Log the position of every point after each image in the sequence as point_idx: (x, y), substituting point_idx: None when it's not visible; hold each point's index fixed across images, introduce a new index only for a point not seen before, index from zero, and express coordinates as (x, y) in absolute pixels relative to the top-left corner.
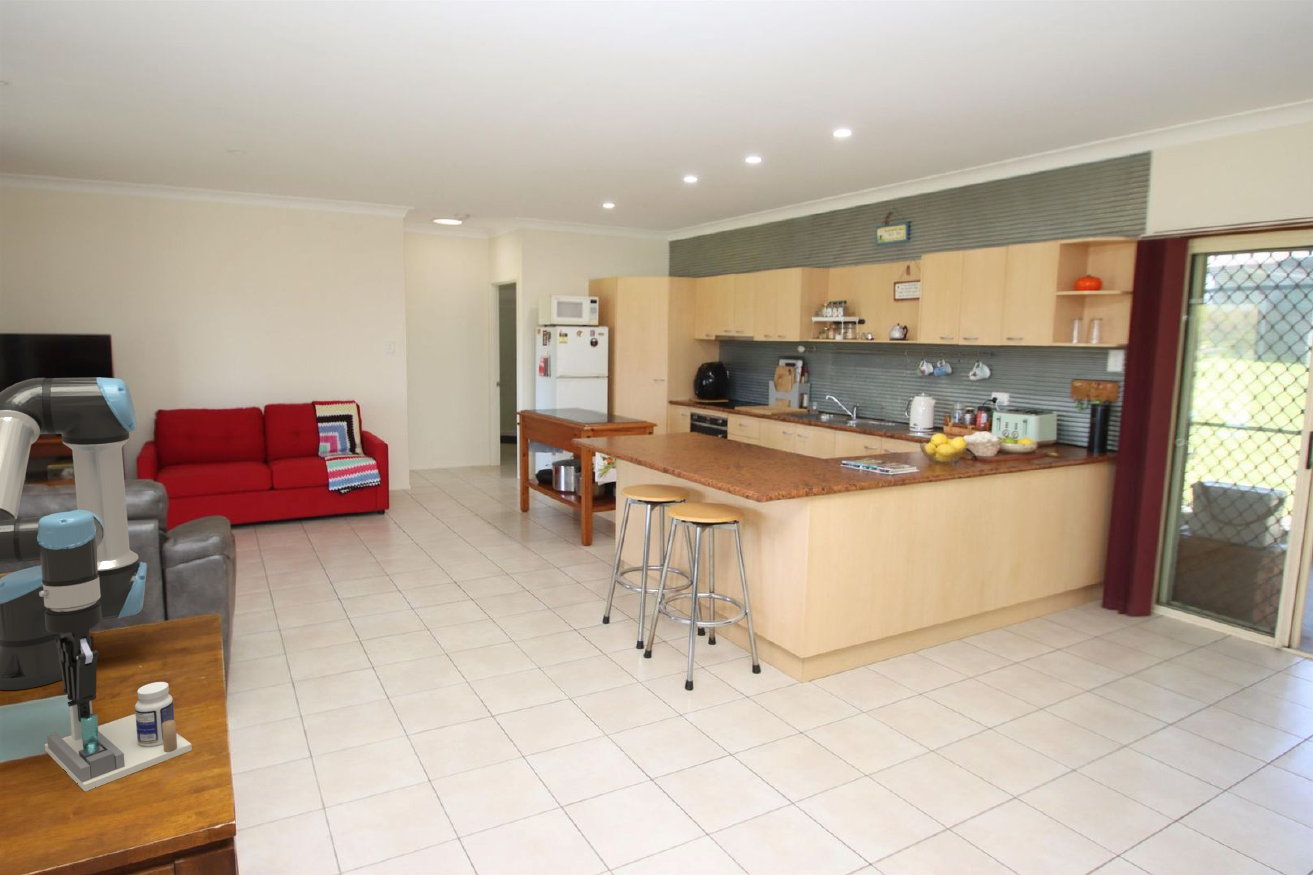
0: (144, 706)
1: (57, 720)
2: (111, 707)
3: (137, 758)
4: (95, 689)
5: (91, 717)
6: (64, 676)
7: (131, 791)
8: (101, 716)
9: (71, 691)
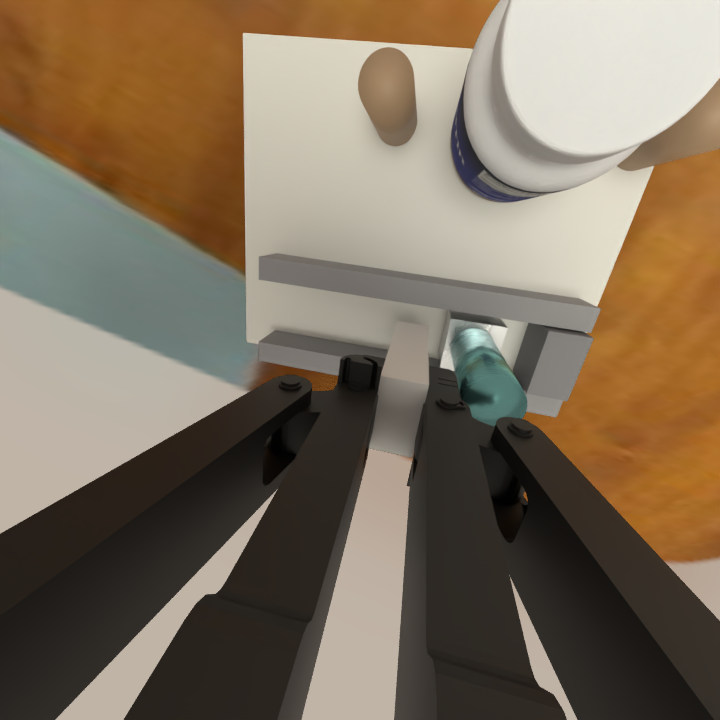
0: (606, 163)
1: (103, 242)
2: (107, 99)
3: (572, 250)
4: (585, 481)
5: (511, 403)
6: (248, 517)
7: (686, 336)
8: (154, 153)
9: (362, 474)
